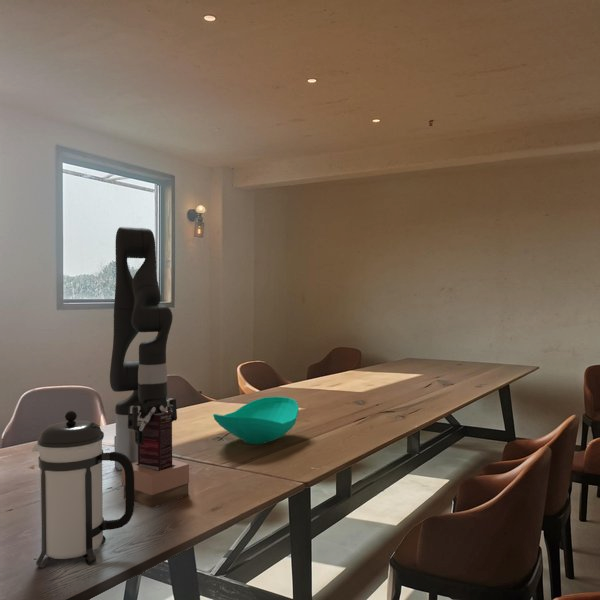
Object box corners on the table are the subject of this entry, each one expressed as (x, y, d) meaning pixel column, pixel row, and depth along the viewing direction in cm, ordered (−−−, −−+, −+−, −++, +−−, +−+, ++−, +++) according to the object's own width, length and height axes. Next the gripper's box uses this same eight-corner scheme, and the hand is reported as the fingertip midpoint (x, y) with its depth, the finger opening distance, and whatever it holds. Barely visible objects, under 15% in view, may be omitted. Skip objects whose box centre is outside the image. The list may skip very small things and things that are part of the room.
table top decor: (253, 426, 230) (252, 394, 230) (314, 433, 218) (314, 399, 218) (194, 451, 194) (193, 413, 194) (263, 461, 182) (263, 420, 182)
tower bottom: (123, 500, 150) (123, 485, 150) (160, 487, 159) (160, 473, 159) (151, 510, 142) (151, 494, 142) (188, 496, 152) (188, 481, 152)
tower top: (122, 484, 150) (121, 466, 150) (159, 473, 159) (158, 455, 159) (151, 495, 142) (151, 475, 142) (189, 482, 151) (188, 464, 151)
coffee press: (55, 582, 106) (54, 423, 106) (20, 556, 117) (18, 412, 116) (137, 550, 119) (135, 408, 119) (98, 529, 129) (97, 399, 129)
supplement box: (173, 471, 150) (173, 412, 151) (160, 476, 146) (159, 415, 147) (150, 467, 155) (150, 409, 155) (136, 471, 151) (136, 412, 151)
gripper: (165, 376, 158) (165, 433, 158) (121, 382, 146) (121, 444, 147) (182, 378, 153) (183, 437, 153) (139, 385, 142) (139, 449, 142)
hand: (153, 441), depth 150 cm, fingers open, 8 cm apart
